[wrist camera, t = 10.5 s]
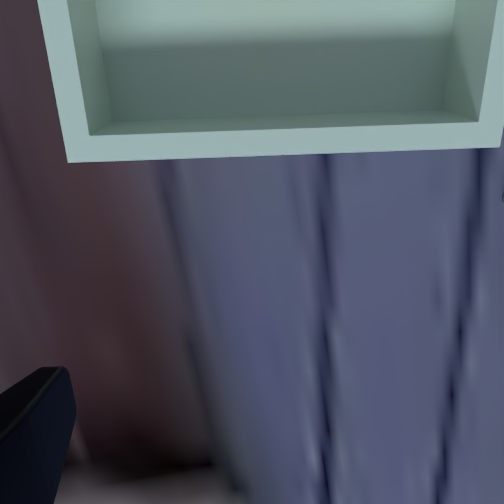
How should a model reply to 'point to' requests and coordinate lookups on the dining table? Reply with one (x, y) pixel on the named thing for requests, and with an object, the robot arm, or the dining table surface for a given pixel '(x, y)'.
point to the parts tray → (274, 76)
